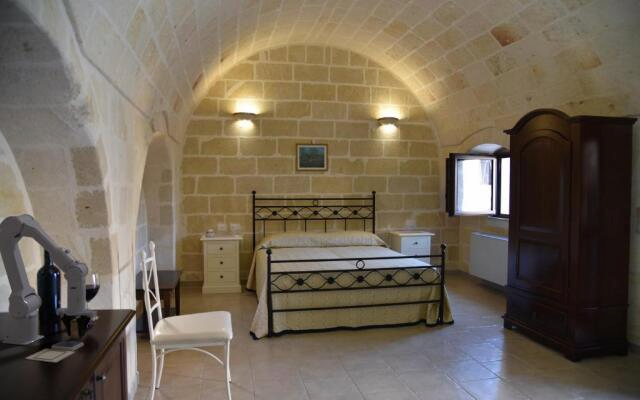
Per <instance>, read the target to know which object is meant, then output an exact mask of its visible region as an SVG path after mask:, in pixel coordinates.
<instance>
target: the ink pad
mask: <svg viewBox="0 0 640 400" xmlns="http://www.w3.org/2000/svg"><path fill="white" fill-rule="evenodd" d="M82 347H84V342H81V341H78V342H75V341H69V340H65V339H64V340H61V341H58V342H57V343H54V344H52V345H51V349H54V350H63V351H72V352H75V350H77V349H79V348H82Z"/></svg>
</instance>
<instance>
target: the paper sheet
mask: <svg viewBox="0 0 640 400" xmlns="http://www.w3.org/2000/svg"><path fill="white" fill-rule="evenodd" d="M73 354H75V351H68V350H59V349H52V348H44V349H42V350H40V351H37V352H35V353H33V354H30V355H29V356H26V357H25V359H24V360H27V361H28V360H31V361H38V362H39V361H40V362H46V363H47V362H48V363H58V362H60V361H62V360H64V359H65V358H68V357H69V356H72V355H73Z"/></svg>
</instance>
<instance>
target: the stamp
mask: <svg viewBox="0 0 640 400" xmlns="http://www.w3.org/2000/svg"><path fill="white" fill-rule="evenodd" d="M70 325H71V336H68V337H69V338H68V339H69V340H68V341H75V342H81V341H84V339H85V338H84V337H85V336H83V337H79V333H78V324H77V321H76V319H75V320H71V321H70Z"/></svg>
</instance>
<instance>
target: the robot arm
mask: <svg viewBox="0 0 640 400" xmlns="http://www.w3.org/2000/svg"><path fill="white" fill-rule="evenodd" d="M23 237H25V238H32V239H33V240H34V241H35V242H36V243H37V244H39V245H40V246H41V247H42V248H43V249H44V250H45V251H46V252H48V253H49V260H51V262H52V263H53V264H54V265H56V267H57V268H58V269H59V270H60V271H61V272H63V278H64V279H65V280H66V282H67V283H66V284H67V285H66V286H67V287H66V288H67V289H66V291H67V293H66V294H67V296H66V298H67V299H66V300H67V301H66V303H67V305H66V307H59V308H56V310H55V311H56V314H55V315H58V316H60V315H62V316H61V317H60V321H61V322H62V324H63V326H64V327H65V330H66V333H67V336H68V337H71V325H70V321H71V320H75V319H76V316H80V317H79V318H77V319H76V321H77V324H78V333H79V337H83V336H84V337H85V335H86V332H87V328H88V327H87V326H88V324H90V321H91V320H92V319H94V318H96V317H97V315H98V311H97V310H92V309H89V308H86V302H87V301H86V300H87V299H86V298H87V297H86V295H87V293H86V292H87V289H86V288H87V284H86V283H87V282H86V281H87V279H86V278H87V275H88V274H89V267H88V266H87V264H86V263H84V262H81V260H79V259H77V258H76V257H74V256H73V254H72V253H71V250H70V249H69V248H66V247H60V246H58V245H57V243H56V242H55V241H54V240H53V238H51V236H50V235H49V234H48V233H47V232H46V230H44V228H43V227H42V226H41V224H40V222H39V221H38V220H36V219H35V217H34V216H33V215H31V214H28V213H23V214H20V215H10V216H7V217H5V218H4V219H3V220H2V221H1V222H0V256H1V260H2V263H3V266H4V269H5V273H6V276H7V279H8V280H7V281H8V284H9V287H10V289H11V292H10V295H9V297H8V304H9V305H8V313H9V314H10V315H9V316H8V317H7V318H6V319H5V322H4V340H3V341H2V343H3V344H11V345H19V346H20V345H21V346H27V345H30V344H32V343H34V342H36V341H39V340H41V339H43V338H45V336H44V335H39V328H38V327H39V326H38V325H39V319H38V316H39V312H38V309H39V308H40V307H41V306H42V299H41V297H40V296H39V294H38V293H37V292H36V289H35V288H34V287H32V286H31V285H30V281H29V277H28V274H27V270H26V267H25V264H24V261H23V257H22V254H21V250H20V246H19V242H20V241H21V240H22V238H23Z"/></svg>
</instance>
